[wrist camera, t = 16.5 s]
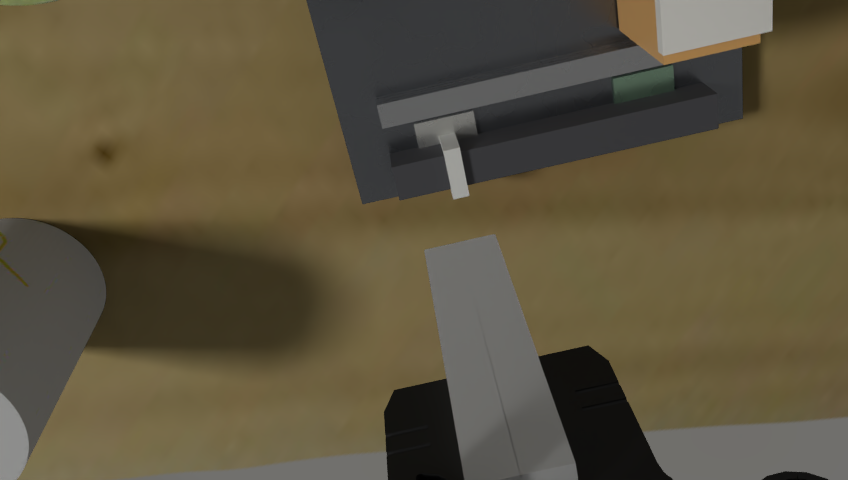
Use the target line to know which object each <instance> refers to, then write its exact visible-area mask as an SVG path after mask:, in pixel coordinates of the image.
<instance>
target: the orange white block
mask: <svg viewBox="0 0 848 480" xmlns="http://www.w3.org/2000/svg"><path fill="white" fill-rule="evenodd" d="M617 8H618V20H619V31H621V32H622V33H623V34H625V35H626V36H627V37H628V38H630V39H631V40H632V41H634V42H635V43H636V44H637V45H639V46H640V47H641V48H643V49H644V50H645V51H646V52H648V53H649V54H650V55H651V56H653V57H654V58H655V59H657V60H658V61H659V62H660V63H662V64H663V65H667V64H671V63H675V62H680V61H684V60H689V59H693V58H697V57H702V56H706V55H710V54H715V53H719V52H724V51H728V50H732V49H737V48H741V47H745V46H750V45H754V44H759V43H760V34H761V33H766V32H770V31H772V15H773V0H617Z"/></svg>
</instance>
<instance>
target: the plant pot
mask: <svg viewBox="0 0 848 480" xmlns="http://www.w3.org/2000/svg"><path fill="white" fill-rule="evenodd" d="M53 1H57V0H0V5H22V6H25V5H36V4H43V3H48V2H53Z"/></svg>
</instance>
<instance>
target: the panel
mask: <svg viewBox="0 0 848 480" xmlns="http://www.w3.org/2000/svg"><path fill="white" fill-rule="evenodd" d="M307 4H308V8H309V11H310V15H311V19H312V22H313V26H314V29H315V33H316V37H317V40H318V44H319V48H320V51H321V55H322V59H323V62H324V66H325V69H326V73H327V77H328V80H329V84H330V88H331V91H332V95H333V98H334V102H335V106H336V109H337V113H338V117H339V120H340V124H341V128H342V131H343V135H344V138H345V142H346V146H347V149H348V153H349V157H350V160H351V164H352V168H353V171H354V175H355V178H356V182H357V186H358V189H359V193H360V197H361V200H362V204H366V203H370V202H375V201H379V200H384V199H388V198H393V197H397V196H398V192H397V188H396V184H395V180H394V176H393V172H392V168H391V159H390V154H391V153H395V152H399V151H404V150H408V149H413V148H417V147H419V148H424V147H428V146H433V145H437V144H441V143H440V138H439V136H443V135H447V134H451V133H455V135H456V138H457V140H459V139H463V138H468V137H472V136H477V135H478V134H479V133H483V132H487V131H492V130H496V129H500V128H505V127H509V126H514V125H518V124H522V123H527V122H531V121H536V120H540V119H544V118H549V117H553V116H558V115H562V114H566V113H571V112H575V111H580V110H584V109H588V108H593V107H597V106H602V105H606V104H610V103H615V104H617V103H621V102H626V101H630V100H635V99H639V98H643V97H648V96H652V95H657V94H661V93H665V92H670V91H674V90H675V89H676V88H681V87H685V86H689V85H694V84H698V83H704V84H705V85H707V86H708V87H710V88H711V89H712V90H714V91H715V92H716V93H718V124H720V123H724V122H728V121H733V120H737V119H742V118H743V92H742V47H741V48H737V49H732V50H728V51H724V52H719V53H715V54H710V55H706V56H702V57H697V58H693V59H689V60H684V61H680V62H675V63H671V64H667V65H663V64H662V63H660V62H659V61H658V60H657V59H655V58H654V57H653V56H651V55H650V54H649V53H648V52H646V51H645V50H644V49H643V48H641V47H640V46H639V45H637V44H636V43H635V42H634V41H632V40H631V39H630V38H628V37H627V36H626V35H625V34H623V33H622V32H621V31H619V20H618V8H617V0H307Z"/></svg>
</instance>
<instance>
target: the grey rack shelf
mask: <svg viewBox="0 0 848 480" xmlns="http://www.w3.org/2000/svg"><path fill="white" fill-rule="evenodd" d="M718 128H719V126H718V93H716V92H715V91H714V90H712V89H711V88H710V87H708V86H707V85H705V84H704V83H698V84H694V85H689V86H685V87H681V88H676V89H675V90H674V91H670V92H665V93H661V94H657V95H652V96H648V97H643V98H639V99H635V100H630V101H626V102H621V103H617V104H615V103H610V104H606V105H602V106H597V107H593V108H588V109H584V110H580V111H575V112H571V113H566V114H562V115H558V116H553V117H549V118H544V119H540V120H536V121H531V122H527V123H522V124H518V125H514V126H509V127H505V128H500V129H496V130H492V131H487V132H483V133H479V134H478V135H477V136H472V137H468V138H463V139H459V140H457V138H456V135H455V133H451V134H447V135H443V136H439V138H440V143H441V144H437V145H433V146H428V147H424V148H419V147H417V148H413V149H408V150H404V151H399V152H395V153H391V154H390V159H391V168H392V172H393V176H394V180H395V184H396V188H397V192H398V196H399V200H404V199H408V198H412V197H417V196H421V195H426V194H430V193H435V192H439V191H443V190H448V189H451V192H452V196H453V199H457V198H462V197H466V196H469V191H468V186H467V185H470V184H474V183H479V182H483V181H488V180H492V179H496V178H501V177H505V176H510V175H514V174H519V173H523V172H527V171H532V170H536V169H541V168H545V167H550V166H554V165H558V164H563V163H567V162H572V161H576V160H580V159H585V158H589V157H594V156H598V155H603V154H607V153H611V152H616V151H620V150H625V149H629V148H634V147H638V146H642V145H647V144H651V143H656V142H660V141H665V140H669V139H673V138H678V137H682V136H687V135H691V134H695V133H700V132H704V131H709V130H713V129H718Z"/></svg>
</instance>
